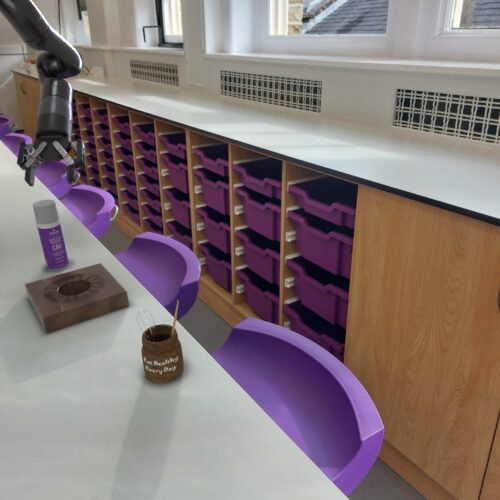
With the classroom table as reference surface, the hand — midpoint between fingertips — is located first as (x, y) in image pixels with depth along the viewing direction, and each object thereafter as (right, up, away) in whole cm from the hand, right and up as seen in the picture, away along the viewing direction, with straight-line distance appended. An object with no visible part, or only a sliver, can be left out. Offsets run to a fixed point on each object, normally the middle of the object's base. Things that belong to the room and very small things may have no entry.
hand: (50, 183), depth 107 cm
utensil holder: (+31, -33, -33) cm, 56 cm away
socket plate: (+11, -25, -13) cm, 30 cm away
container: (+1, -18, +2) cm, 19 cm away
